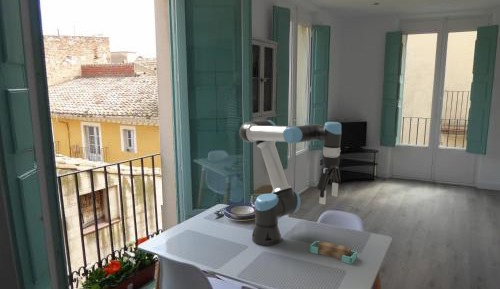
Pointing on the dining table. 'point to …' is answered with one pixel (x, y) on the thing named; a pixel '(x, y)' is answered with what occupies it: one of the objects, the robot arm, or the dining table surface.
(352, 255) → the pair of teal brackets
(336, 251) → the batten
